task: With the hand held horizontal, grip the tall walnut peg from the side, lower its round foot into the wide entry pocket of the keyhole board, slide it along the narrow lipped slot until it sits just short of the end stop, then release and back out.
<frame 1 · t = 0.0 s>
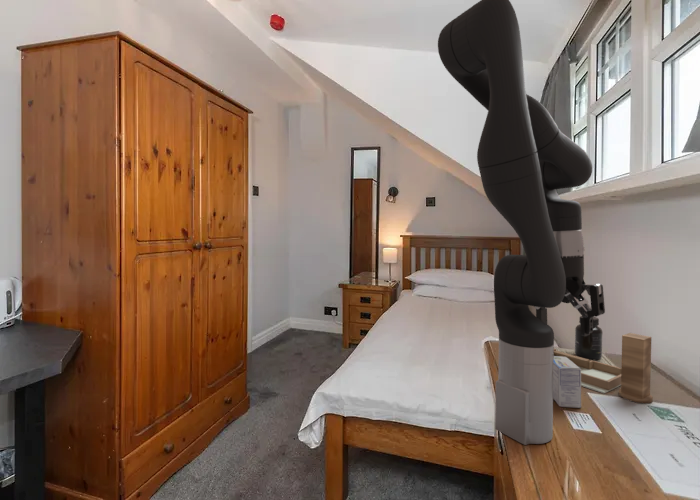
hand: (563, 330, 72), 17 cm above the table, tool pointing down, fingers open, 8 cm apart
supplement bottle: (588, 357, 106), on the table
medicine box: (562, 400, 78), on the table
walnut keyhole peg: (635, 397, 79), on the table
keyhole board: (578, 372, 93), on the table
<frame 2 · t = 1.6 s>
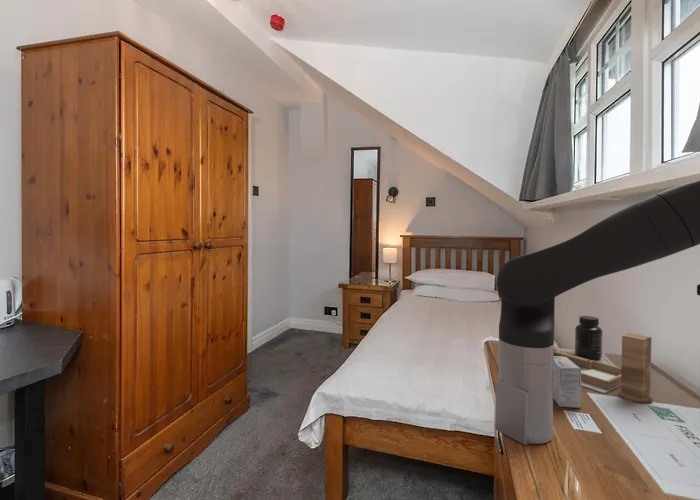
nothing on the table moved.
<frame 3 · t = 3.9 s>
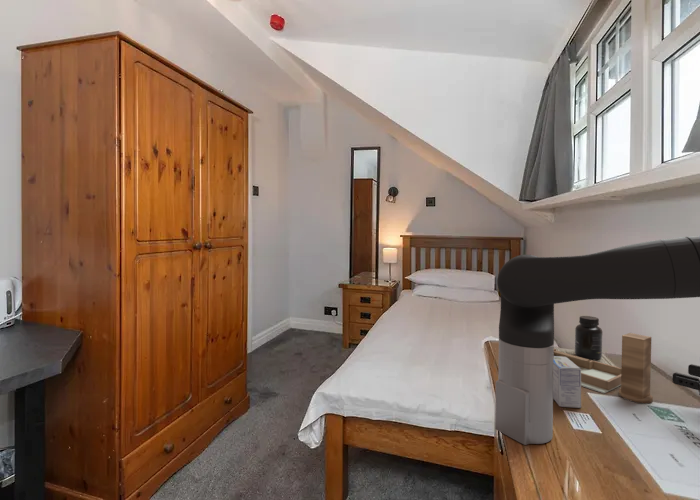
hand: (681, 373, 72), 8 cm above the table, tool horizontal, fingers open, 8 cm apart
nothing on the table moved.
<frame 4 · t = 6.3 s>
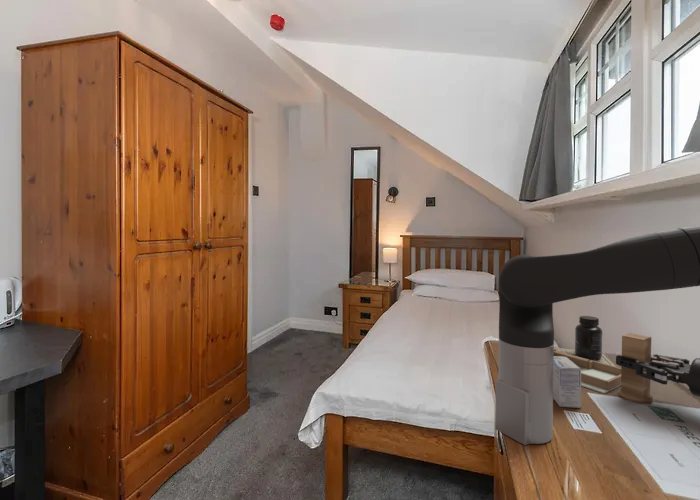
hand: (621, 357, 81), 8 cm above the table, tool horizontal, fingers closed on walnut keyhole peg, 4 cm apart
walnut keyhole peg: (635, 397, 79), on the table, touching gripper
everything else where it was.
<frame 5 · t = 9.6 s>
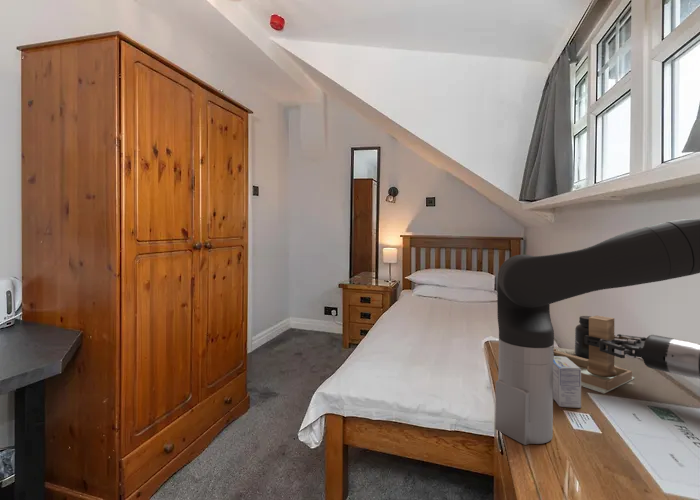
hand: (589, 338, 91), 10 cm above the table, tool horizontal, fingers closed on walnut keyhole peg, 4 cm apart
walnut keyhole peg: (601, 372, 89), point 2 cm above the table, touching gripper
everything else where it was.
when the fingers open (9 cm above the table, at t = 13.3 s): walnut keyhole peg stays where it is, resting on keyhole board.
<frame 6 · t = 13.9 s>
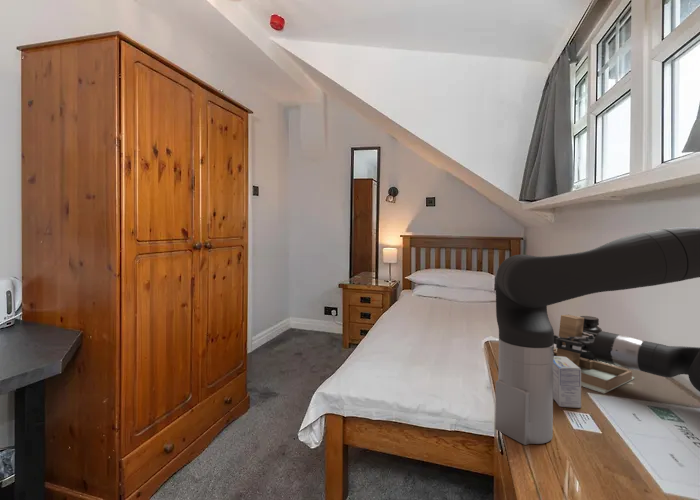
hand: (553, 334, 99), 9 cm above the table, tool horizontal, fingers open, 8 cm apart
walnut keyhole peg: (567, 366, 96), point 1 cm above the table, tilted 5°, touching keyhole board
everything else where it was.
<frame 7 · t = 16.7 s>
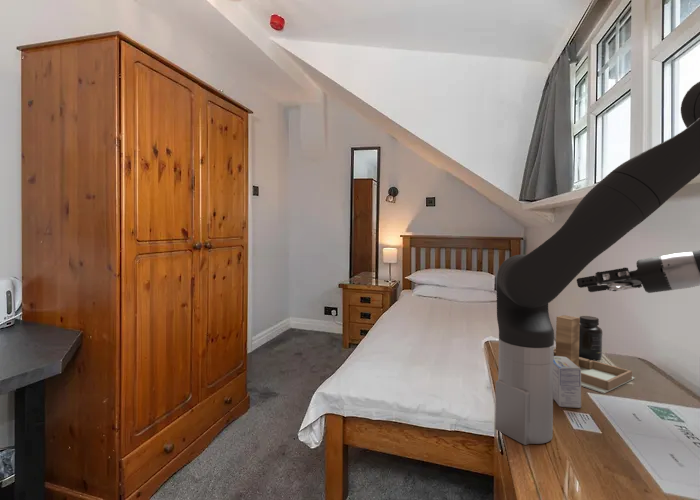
hand: (582, 285, 86), 24 cm above the table, tool tilted 75°, fingers open, 8 cm apart
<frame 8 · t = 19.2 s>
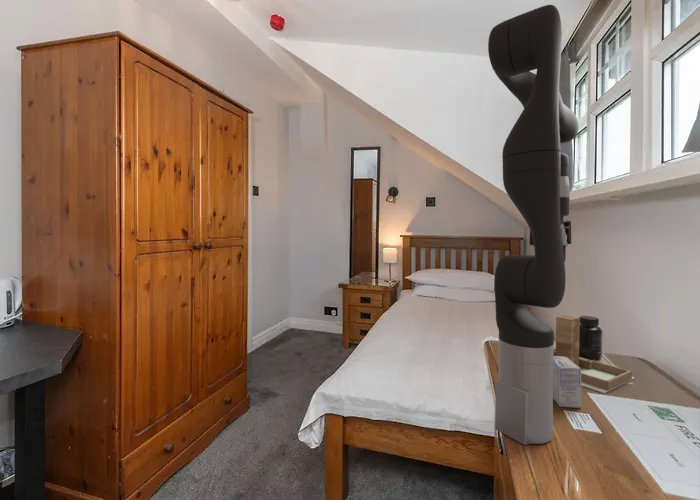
hand: (550, 262, 87), 30 cm above the table, tool pointing down, fingers open, 8 cm apart
nothing on the table moved.
at the end: walnut keyhole peg 1.8 cm from the target spot on the keyhole board, point 0.4 cm above the keyhole board's base; walnut keyhole peg tilted 0°; the gripper is holding nothing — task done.
